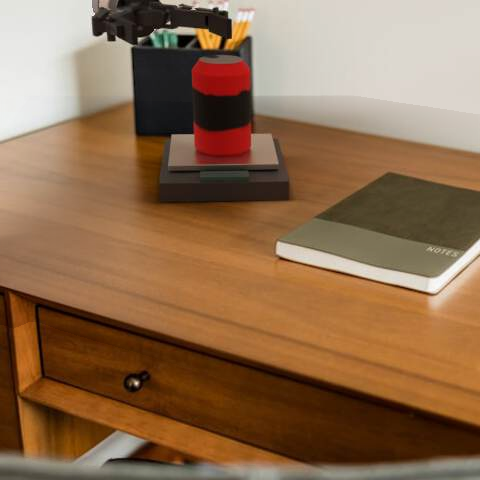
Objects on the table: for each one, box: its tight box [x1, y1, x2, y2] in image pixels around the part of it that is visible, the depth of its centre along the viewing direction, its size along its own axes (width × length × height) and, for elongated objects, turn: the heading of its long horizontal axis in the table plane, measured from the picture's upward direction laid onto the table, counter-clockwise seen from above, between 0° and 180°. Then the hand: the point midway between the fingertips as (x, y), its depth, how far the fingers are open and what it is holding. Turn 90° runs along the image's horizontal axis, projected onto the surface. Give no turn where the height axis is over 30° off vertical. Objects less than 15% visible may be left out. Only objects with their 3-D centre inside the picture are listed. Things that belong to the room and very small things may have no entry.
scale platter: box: [168, 133, 279, 171], centre depth 121 cm, size 14×14×1 cm
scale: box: [158, 138, 290, 203], centre depth 121 cm, size 16×19×3 cm
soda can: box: [191, 54, 252, 156], centre depth 119 cm, size 8×8×12 cm
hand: (183, 32), depth 122 cm, fingers open, 13 cm apart
